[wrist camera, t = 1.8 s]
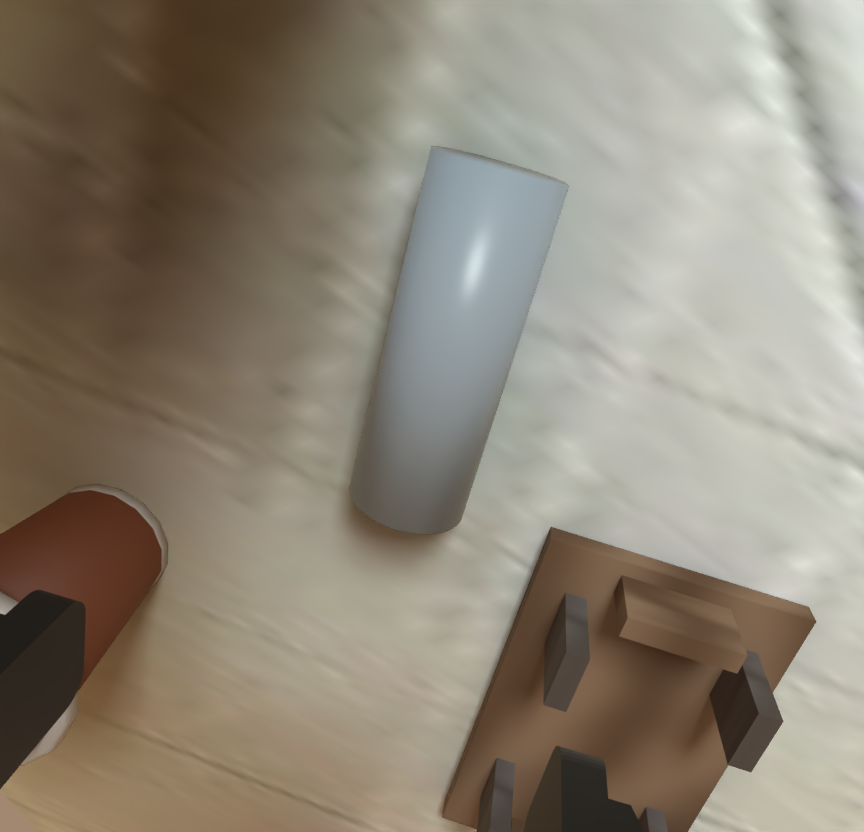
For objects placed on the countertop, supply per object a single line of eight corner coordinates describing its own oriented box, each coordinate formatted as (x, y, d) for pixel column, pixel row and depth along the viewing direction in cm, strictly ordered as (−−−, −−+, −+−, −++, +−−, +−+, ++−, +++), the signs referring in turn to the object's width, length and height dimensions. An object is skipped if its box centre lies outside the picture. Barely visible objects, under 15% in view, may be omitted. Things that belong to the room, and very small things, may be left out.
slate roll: (460, 482, 33) (465, 544, 29) (355, 458, 33) (343, 518, 28) (556, 176, 27) (581, 194, 23) (430, 141, 27) (431, 152, 22)
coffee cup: (84, 424, 35) (-135, 564, 24) (227, 547, 36) (82, 733, 25) (-1, 531, 38) (-226, 696, 27) (133, 639, 40) (-31, 837, 29)
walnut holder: (444, 801, 40) (430, 888, 36) (551, 527, 33) (550, 593, 28) (650, 870, 40) (662, 967, 35) (808, 607, 32) (850, 687, 27)
